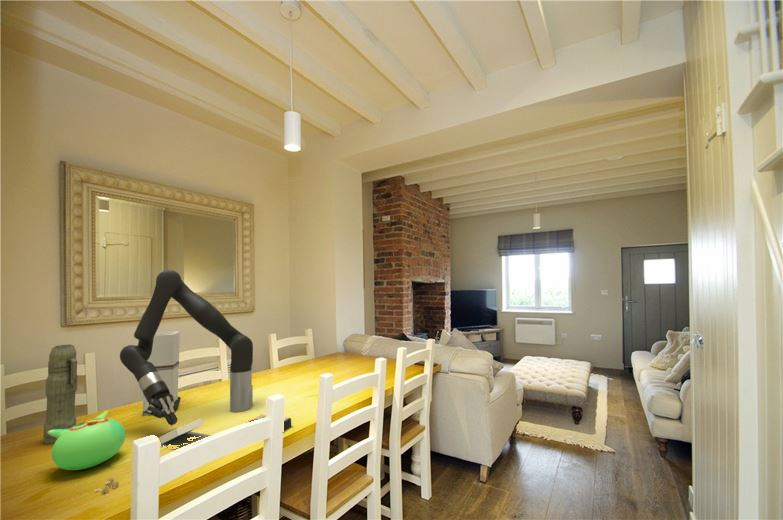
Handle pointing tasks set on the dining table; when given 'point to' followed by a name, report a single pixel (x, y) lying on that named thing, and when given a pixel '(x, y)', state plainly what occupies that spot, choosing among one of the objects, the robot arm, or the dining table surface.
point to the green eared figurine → (87, 443)
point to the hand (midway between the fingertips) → (174, 423)
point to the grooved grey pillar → (165, 361)
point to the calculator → (286, 421)
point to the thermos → (60, 390)
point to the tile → (181, 431)
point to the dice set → (107, 485)
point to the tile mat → (184, 439)
